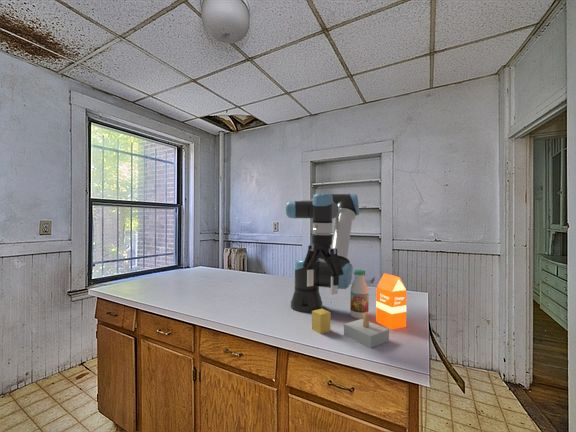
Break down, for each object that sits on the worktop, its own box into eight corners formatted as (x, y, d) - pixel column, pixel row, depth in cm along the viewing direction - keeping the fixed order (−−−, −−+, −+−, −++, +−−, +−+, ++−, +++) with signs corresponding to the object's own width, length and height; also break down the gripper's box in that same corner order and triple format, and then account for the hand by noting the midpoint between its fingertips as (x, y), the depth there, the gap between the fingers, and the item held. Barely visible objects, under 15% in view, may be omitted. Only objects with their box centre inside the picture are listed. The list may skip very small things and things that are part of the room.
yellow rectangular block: (311, 329, 106) (312, 310, 106) (321, 326, 109) (321, 308, 109) (320, 333, 102) (320, 314, 102) (330, 330, 105) (330, 312, 105)
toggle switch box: (343, 335, 101) (344, 311, 101) (361, 328, 107) (362, 307, 107) (370, 348, 91) (370, 322, 91) (388, 340, 97) (389, 316, 97)
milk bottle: (347, 313, 124) (348, 268, 124) (364, 312, 125) (365, 268, 125) (353, 319, 116) (354, 272, 117) (371, 319, 117) (371, 272, 117)
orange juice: (391, 329, 107) (392, 278, 107) (375, 321, 115) (376, 273, 115) (406, 326, 110) (407, 276, 110) (390, 318, 118) (390, 272, 118)
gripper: (295, 232, 113) (294, 284, 113) (338, 236, 93) (337, 299, 93) (309, 232, 118) (308, 282, 118) (353, 236, 97) (353, 296, 97)
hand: (321, 289), depth 105 cm, fingers open, 13 cm apart
